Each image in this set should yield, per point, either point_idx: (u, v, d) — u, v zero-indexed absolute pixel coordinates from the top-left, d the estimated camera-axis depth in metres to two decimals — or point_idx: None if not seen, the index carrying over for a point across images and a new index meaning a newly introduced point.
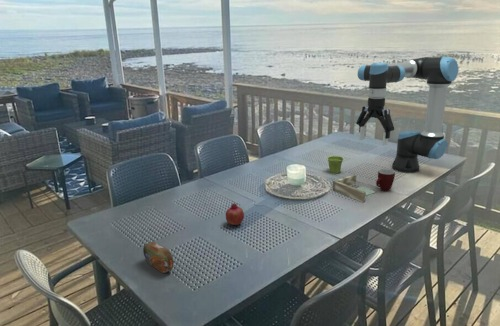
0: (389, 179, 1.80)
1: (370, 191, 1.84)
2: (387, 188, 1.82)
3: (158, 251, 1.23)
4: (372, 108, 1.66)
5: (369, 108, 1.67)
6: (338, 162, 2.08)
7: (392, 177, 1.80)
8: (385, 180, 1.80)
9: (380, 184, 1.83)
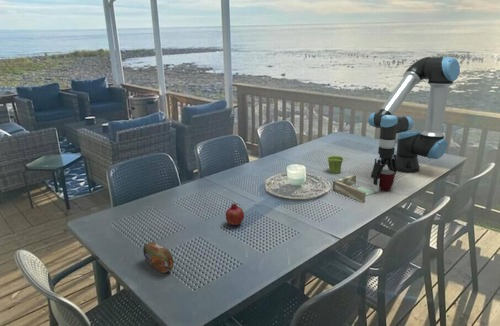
0: (389, 179, 1.80)
1: (370, 191, 1.84)
2: (387, 188, 1.82)
3: (158, 251, 1.23)
4: None
5: None
6: (338, 162, 2.08)
7: (392, 177, 1.80)
8: (385, 180, 1.80)
9: (380, 184, 1.83)
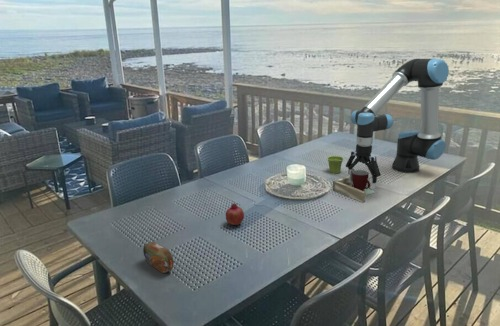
0: None
1: (370, 191, 1.84)
2: None
3: (158, 251, 1.23)
4: (360, 154, 1.78)
5: (357, 154, 1.79)
6: (338, 162, 2.08)
7: None
8: (367, 179, 1.81)
9: (364, 186, 1.81)
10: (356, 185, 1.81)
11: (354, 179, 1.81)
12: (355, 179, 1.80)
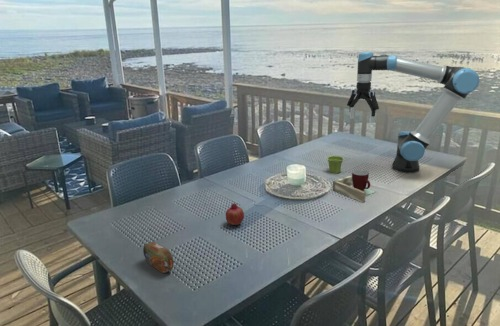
0: None
1: (370, 191, 1.84)
2: None
3: (158, 251, 1.23)
4: (360, 91, 1.96)
5: (358, 91, 1.97)
6: (338, 162, 2.08)
7: None
8: None
9: (364, 186, 1.81)
10: (356, 185, 1.81)
11: (354, 179, 1.81)
12: (355, 179, 1.80)
